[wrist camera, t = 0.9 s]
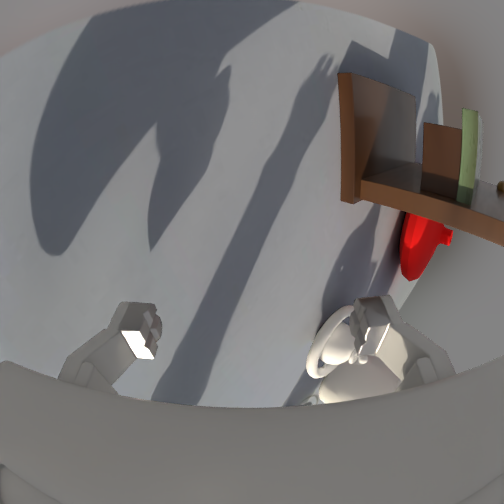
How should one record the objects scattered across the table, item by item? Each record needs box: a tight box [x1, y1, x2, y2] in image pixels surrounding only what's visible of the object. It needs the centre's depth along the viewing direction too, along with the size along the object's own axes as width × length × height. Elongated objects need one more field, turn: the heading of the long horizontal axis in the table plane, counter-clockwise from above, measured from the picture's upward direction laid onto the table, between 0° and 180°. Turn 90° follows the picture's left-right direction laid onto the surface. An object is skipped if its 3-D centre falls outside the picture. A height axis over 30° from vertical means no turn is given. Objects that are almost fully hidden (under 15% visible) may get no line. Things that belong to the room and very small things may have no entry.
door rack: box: [338, 73, 504, 247], centre depth 17 cm, size 16×10×15 cm, turn 96°
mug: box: [319, 354, 402, 404], centre depth 30 cm, size 10×12×12 cm
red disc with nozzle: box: [399, 212, 453, 281], centre depth 32 cm, size 16×16×7 cm
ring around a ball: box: [306, 305, 368, 378], centre depth 24 cm, size 8×6×8 cm
